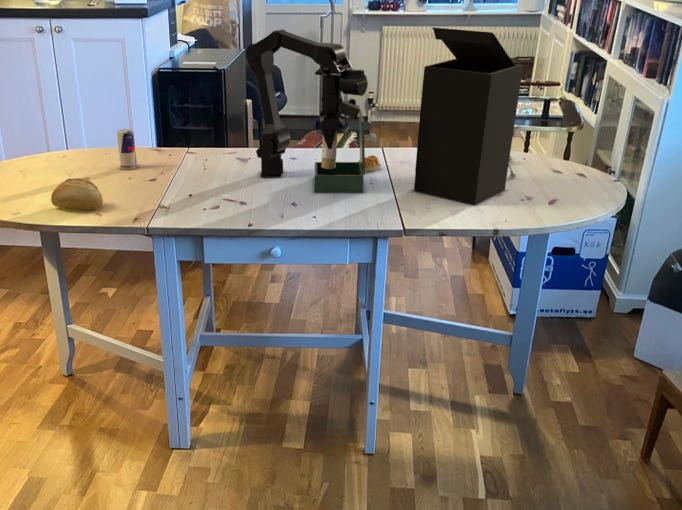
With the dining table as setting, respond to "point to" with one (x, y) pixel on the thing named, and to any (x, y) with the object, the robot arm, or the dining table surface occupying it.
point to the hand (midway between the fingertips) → (329, 146)
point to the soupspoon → (511, 168)
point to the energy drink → (126, 149)
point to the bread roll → (77, 194)
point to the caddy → (339, 178)
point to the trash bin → (467, 118)
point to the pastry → (371, 163)
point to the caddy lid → (363, 138)
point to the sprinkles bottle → (329, 154)
